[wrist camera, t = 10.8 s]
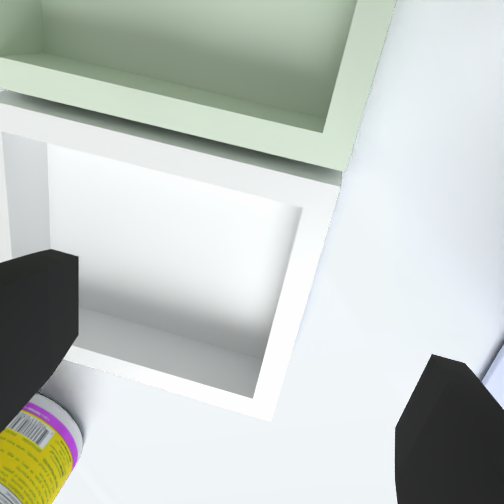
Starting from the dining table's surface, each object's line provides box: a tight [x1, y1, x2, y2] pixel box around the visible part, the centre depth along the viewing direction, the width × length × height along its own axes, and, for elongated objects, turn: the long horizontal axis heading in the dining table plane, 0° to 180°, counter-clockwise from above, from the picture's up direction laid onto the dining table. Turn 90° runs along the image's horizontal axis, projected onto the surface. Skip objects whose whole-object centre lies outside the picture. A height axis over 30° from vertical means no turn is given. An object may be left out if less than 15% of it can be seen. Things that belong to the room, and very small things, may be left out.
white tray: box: [0, 90, 342, 422], centre depth 19 cm, size 13×11×3 cm
